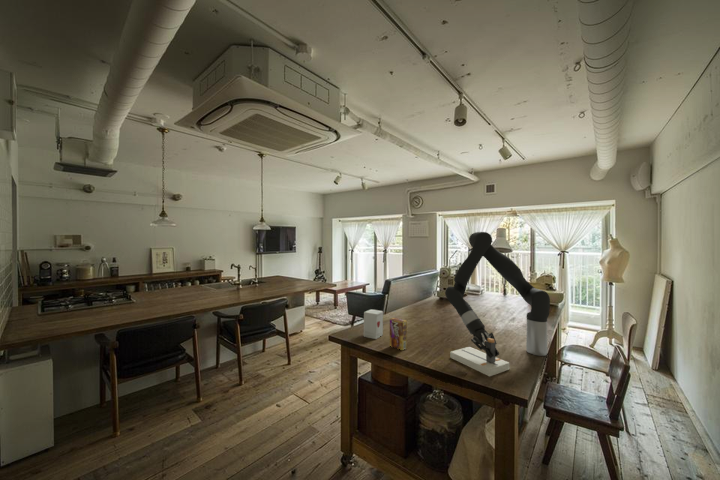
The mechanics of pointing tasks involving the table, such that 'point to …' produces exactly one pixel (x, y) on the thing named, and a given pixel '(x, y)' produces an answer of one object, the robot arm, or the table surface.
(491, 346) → the fader tab
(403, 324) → the candy box
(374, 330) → the supplement box
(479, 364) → the console panel
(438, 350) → the table surface
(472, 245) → the robot arm
